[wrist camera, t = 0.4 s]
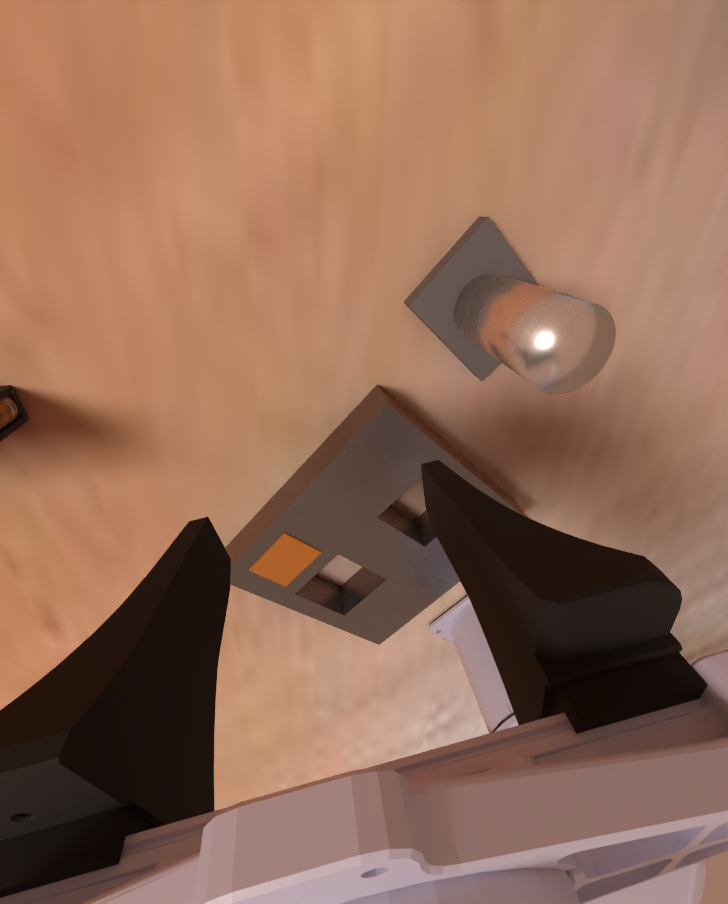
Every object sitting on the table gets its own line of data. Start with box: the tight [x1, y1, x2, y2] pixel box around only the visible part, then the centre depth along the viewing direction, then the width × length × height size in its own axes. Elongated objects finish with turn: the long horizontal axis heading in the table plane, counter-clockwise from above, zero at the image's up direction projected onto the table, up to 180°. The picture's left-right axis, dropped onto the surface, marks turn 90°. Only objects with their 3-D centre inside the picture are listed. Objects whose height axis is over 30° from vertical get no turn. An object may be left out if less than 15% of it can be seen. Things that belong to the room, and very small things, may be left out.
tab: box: [404, 217, 538, 381], centre depth 20 cm, size 6×5×1 cm
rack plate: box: [225, 385, 528, 645], centre depth 26 cm, size 14×15×3 cm
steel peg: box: [454, 273, 615, 394], centre depth 16 cm, size 3×3×7 cm
